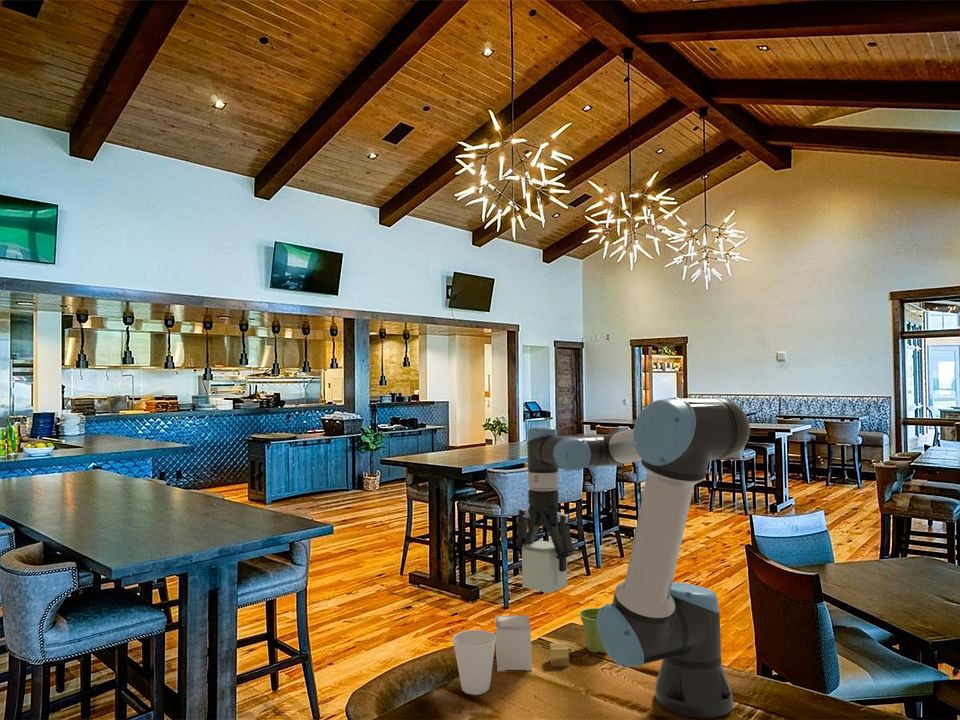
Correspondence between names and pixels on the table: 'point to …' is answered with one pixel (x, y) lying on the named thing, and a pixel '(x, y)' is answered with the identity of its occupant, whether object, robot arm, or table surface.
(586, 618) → the plant pot
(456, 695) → the table surface
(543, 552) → the sage cover
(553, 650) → the mustard cube
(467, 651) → the cup
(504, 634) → the white cover
